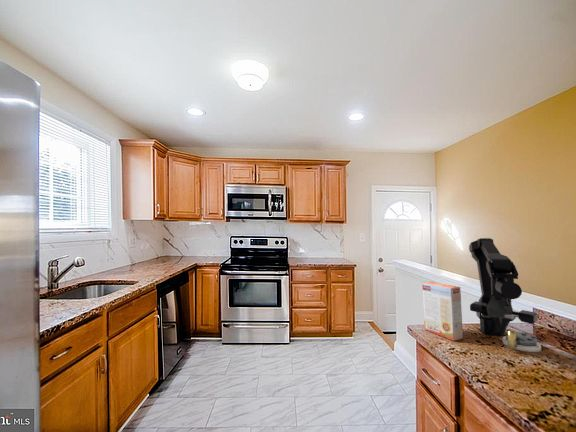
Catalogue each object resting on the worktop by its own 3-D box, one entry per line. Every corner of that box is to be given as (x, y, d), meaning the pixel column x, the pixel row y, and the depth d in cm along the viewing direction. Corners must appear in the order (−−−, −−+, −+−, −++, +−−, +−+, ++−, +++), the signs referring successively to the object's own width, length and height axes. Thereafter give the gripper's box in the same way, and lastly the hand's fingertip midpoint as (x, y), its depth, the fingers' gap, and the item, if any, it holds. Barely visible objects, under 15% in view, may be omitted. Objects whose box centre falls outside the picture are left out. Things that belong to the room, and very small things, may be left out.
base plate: (515, 351, 97) (514, 346, 97) (496, 339, 108) (495, 335, 108) (549, 352, 96) (549, 348, 96) (526, 340, 107) (526, 335, 107)
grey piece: (510, 334, 108) (509, 319, 109) (540, 342, 101) (539, 325, 101) (495, 343, 100) (494, 327, 100) (527, 352, 93) (526, 335, 93)
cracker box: (464, 339, 109) (461, 286, 110) (453, 341, 107) (450, 288, 108) (433, 327, 122) (431, 280, 123) (423, 329, 120) (421, 282, 121)
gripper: (464, 290, 102) (465, 332, 102) (529, 301, 88) (530, 350, 87) (474, 286, 109) (475, 325, 109) (536, 296, 94) (538, 341, 94)
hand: (502, 335), depth 99 cm, fingers closed
